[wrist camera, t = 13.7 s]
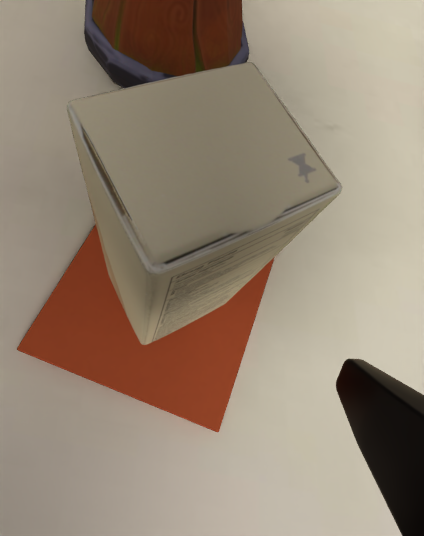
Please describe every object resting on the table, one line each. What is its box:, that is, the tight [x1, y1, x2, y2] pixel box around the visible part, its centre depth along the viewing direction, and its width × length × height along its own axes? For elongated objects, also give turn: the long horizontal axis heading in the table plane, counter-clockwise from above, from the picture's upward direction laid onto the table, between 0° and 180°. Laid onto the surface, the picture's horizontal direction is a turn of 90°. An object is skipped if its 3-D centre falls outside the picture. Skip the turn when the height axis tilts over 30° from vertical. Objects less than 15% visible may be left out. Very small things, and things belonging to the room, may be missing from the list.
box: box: [67, 62, 342, 345], centre depth 12 cm, size 5×4×11 cm
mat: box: [17, 224, 274, 432], centre depth 17 cm, size 11×10×1 cm
